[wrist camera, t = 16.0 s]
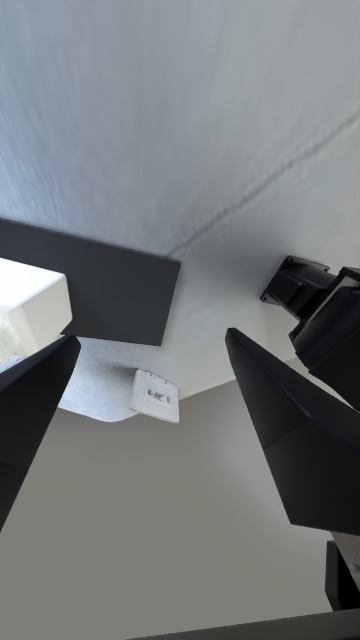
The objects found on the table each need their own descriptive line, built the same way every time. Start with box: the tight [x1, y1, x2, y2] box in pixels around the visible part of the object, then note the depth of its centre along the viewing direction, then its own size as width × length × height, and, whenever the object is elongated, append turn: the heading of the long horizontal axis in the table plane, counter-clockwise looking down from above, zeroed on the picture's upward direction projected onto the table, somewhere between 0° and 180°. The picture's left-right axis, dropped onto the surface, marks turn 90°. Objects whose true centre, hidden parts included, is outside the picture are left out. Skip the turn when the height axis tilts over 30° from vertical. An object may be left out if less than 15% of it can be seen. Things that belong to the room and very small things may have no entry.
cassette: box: [129, 369, 179, 423], centre depth 30 cm, size 12×2×8 cm, turn 44°
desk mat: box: [0, 218, 181, 346], centre depth 20 cm, size 22×15×1 cm
